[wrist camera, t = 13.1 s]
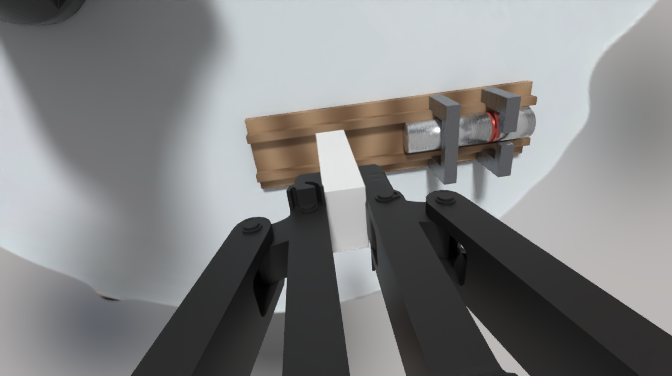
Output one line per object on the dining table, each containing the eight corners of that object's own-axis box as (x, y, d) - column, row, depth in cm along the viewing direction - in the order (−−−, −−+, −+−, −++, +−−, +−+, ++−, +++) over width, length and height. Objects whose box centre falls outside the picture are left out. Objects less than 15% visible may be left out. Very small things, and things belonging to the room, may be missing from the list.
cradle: (262, 185, 47) (260, 193, 45) (246, 118, 43) (242, 123, 41) (517, 150, 48) (527, 156, 46) (528, 80, 43) (539, 83, 41)
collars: (427, 165, 47) (443, 184, 41) (428, 95, 42) (446, 106, 37) (486, 157, 47) (510, 175, 41) (493, 87, 42) (521, 96, 37)
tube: (403, 149, 45) (411, 156, 41) (401, 120, 44) (409, 124, 40) (516, 134, 45) (534, 139, 41) (517, 105, 44) (536, 107, 40)
